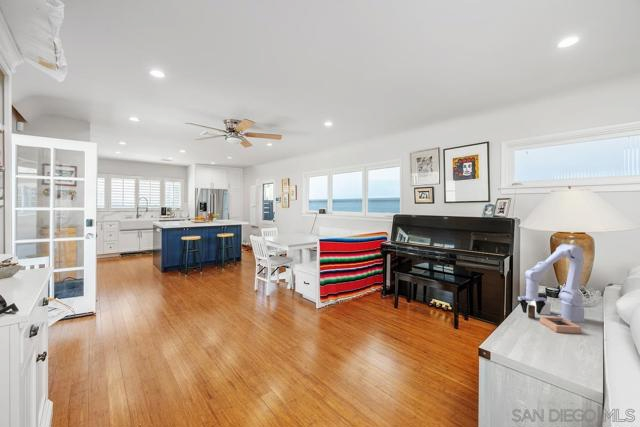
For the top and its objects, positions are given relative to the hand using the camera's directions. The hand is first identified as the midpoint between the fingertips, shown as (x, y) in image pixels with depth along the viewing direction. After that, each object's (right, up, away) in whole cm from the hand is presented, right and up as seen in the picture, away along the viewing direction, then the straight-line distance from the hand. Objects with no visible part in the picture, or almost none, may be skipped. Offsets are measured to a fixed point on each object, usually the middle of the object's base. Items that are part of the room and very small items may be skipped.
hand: (531, 312), depth 159 cm
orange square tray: (+5, -3, -13) cm, 15 cm away
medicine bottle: (+12, -3, +8) cm, 15 cm away
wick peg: (0, -3, 0) cm, 3 cm away
